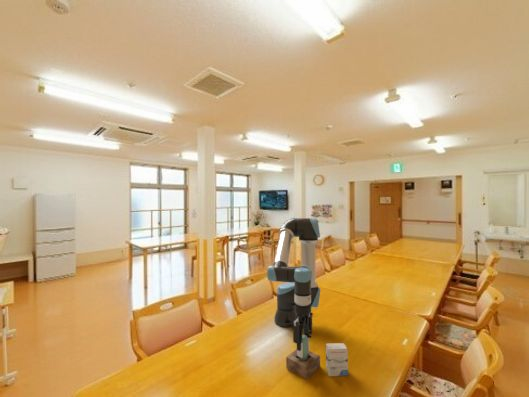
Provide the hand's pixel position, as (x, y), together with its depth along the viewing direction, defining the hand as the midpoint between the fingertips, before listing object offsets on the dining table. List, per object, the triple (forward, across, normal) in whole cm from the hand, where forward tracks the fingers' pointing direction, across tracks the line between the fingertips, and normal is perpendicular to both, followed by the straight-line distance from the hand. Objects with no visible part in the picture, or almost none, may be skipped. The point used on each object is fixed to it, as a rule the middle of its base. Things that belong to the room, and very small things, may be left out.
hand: (303, 353), depth 116 cm
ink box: (+6, +7, -13) cm, 16 cm away
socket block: (+6, 0, 0) cm, 6 cm away
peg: (+6, 0, 0) cm, 6 cm away
